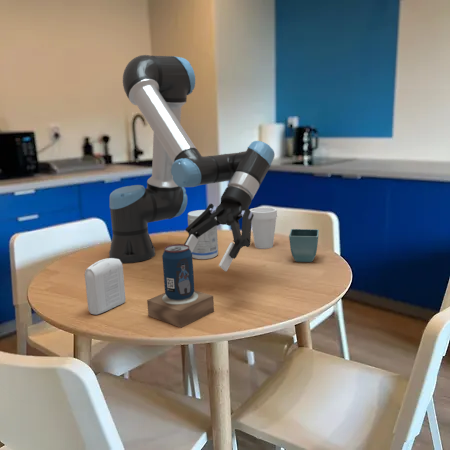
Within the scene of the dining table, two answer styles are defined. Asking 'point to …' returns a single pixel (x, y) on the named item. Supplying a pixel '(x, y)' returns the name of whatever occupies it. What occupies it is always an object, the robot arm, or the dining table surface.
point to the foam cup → (263, 226)
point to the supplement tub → (204, 240)
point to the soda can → (178, 272)
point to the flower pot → (303, 244)
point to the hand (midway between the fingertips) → (202, 263)
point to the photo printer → (104, 285)
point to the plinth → (180, 308)
